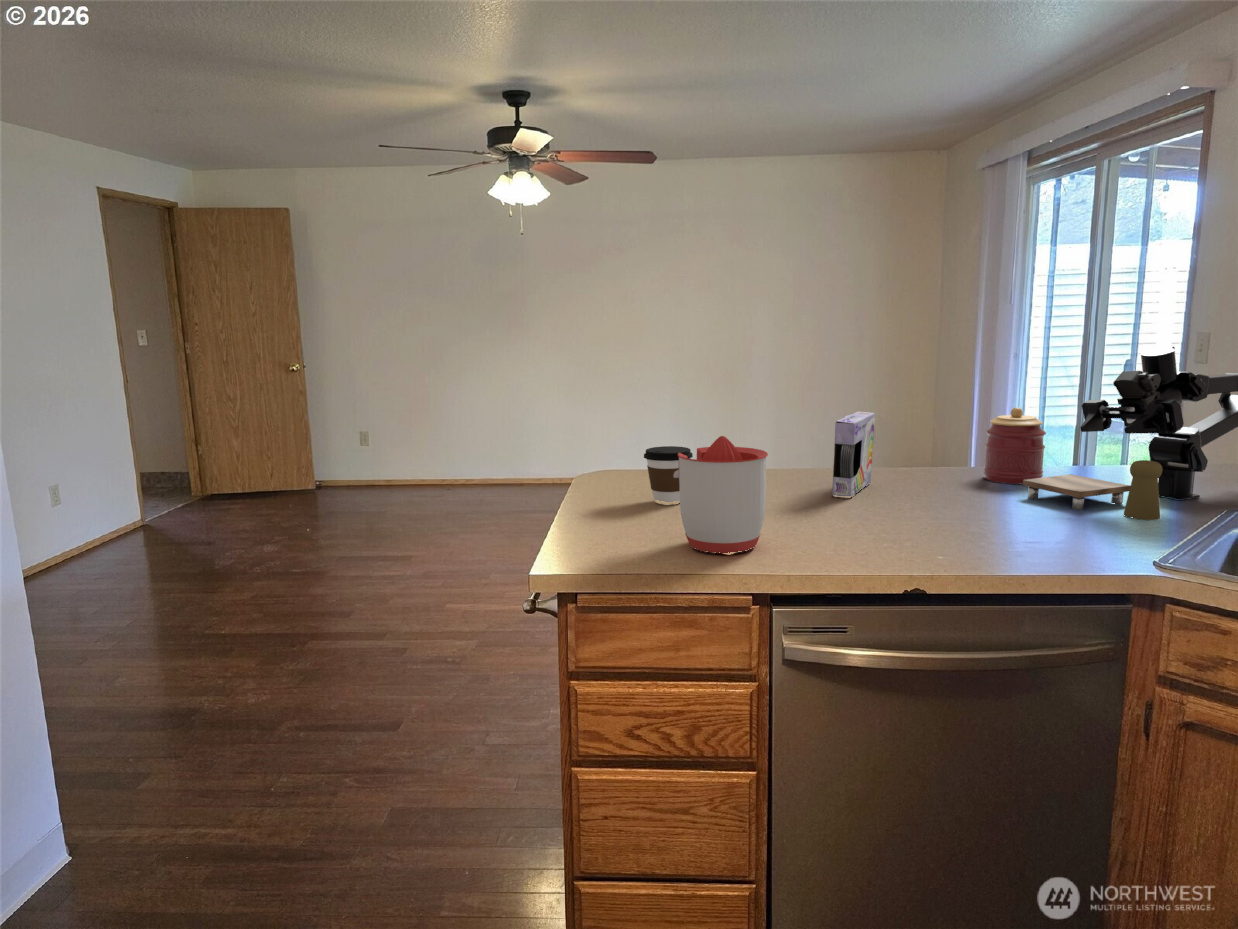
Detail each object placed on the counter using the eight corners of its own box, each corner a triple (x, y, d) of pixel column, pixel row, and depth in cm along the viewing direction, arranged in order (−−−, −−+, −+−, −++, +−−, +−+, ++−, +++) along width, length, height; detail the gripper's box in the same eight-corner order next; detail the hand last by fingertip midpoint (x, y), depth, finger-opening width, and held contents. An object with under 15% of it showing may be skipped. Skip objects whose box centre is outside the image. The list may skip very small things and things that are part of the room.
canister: (1044, 477, 192) (1049, 405, 189) (1040, 486, 182) (1045, 411, 178) (986, 473, 199) (990, 403, 196) (979, 482, 188) (983, 409, 185)
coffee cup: (675, 510, 168) (675, 455, 166) (634, 504, 174) (633, 451, 172) (702, 500, 176) (702, 448, 174) (662, 495, 183) (661, 444, 181)
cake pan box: (851, 500, 173) (853, 421, 170) (829, 498, 175) (830, 420, 172) (873, 484, 189) (875, 411, 186) (852, 483, 191) (854, 411, 188)
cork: (1166, 520, 149) (1171, 463, 147) (1131, 519, 150) (1136, 463, 149) (1151, 513, 155) (1157, 458, 153) (1118, 512, 156) (1122, 458, 154)
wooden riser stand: (1070, 492, 175) (1071, 480, 174) (1124, 504, 163) (1126, 491, 162) (1025, 498, 171) (1026, 485, 170) (1078, 510, 159) (1079, 497, 158)
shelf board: (1070, 479, 175) (1071, 474, 175) (1130, 491, 162) (1130, 485, 162) (1022, 485, 170) (1023, 479, 170) (1079, 497, 157) (1080, 491, 157)
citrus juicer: (701, 529, 151) (701, 427, 148) (783, 543, 140) (784, 433, 137) (653, 548, 139) (651, 437, 136) (737, 565, 128) (738, 444, 125)
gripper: (1102, 367, 168) (1052, 392, 162) (1194, 363, 150) (1142, 391, 145) (1112, 416, 170) (1063, 442, 165) (1204, 418, 153) (1153, 447, 148)
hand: (1102, 430), depth 155 cm, fingers open, 9 cm apart
